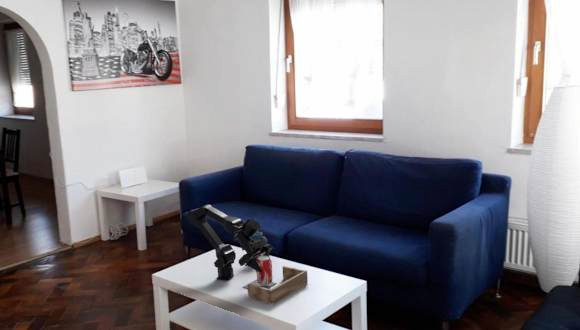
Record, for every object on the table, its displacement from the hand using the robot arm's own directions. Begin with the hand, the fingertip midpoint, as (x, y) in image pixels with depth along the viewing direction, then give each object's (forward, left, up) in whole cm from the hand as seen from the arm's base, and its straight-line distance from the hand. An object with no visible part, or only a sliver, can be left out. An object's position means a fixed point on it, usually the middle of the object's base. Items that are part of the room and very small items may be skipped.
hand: (266, 269), depth 246 cm
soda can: (-1, 0, -7) cm, 7 cm away
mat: (-5, +1, -9) cm, 10 cm away
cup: (-19, +30, -9) cm, 37 cm away
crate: (+6, -2, -9) cm, 11 cm away
